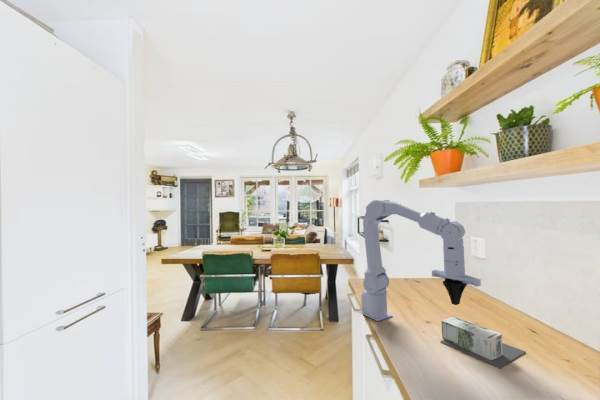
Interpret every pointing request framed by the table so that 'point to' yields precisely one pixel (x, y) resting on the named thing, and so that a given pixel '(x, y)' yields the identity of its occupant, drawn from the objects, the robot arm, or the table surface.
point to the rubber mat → (504, 359)
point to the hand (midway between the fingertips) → (455, 303)
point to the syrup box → (472, 337)
